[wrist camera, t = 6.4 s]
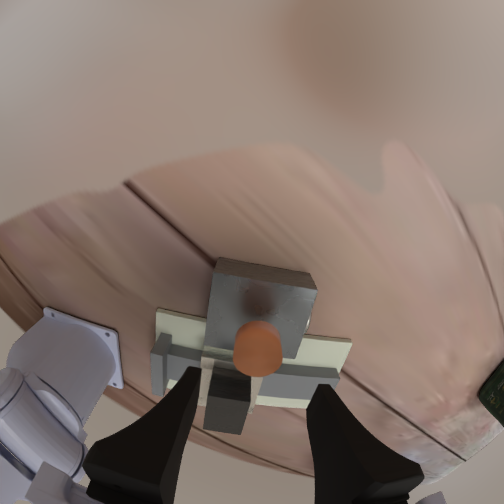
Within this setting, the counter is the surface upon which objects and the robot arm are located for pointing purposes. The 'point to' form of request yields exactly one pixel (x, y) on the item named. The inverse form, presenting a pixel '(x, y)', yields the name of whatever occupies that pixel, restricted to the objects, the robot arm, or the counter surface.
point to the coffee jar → (494, 394)
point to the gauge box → (258, 303)
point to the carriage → (225, 391)
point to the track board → (304, 355)
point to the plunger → (257, 349)
